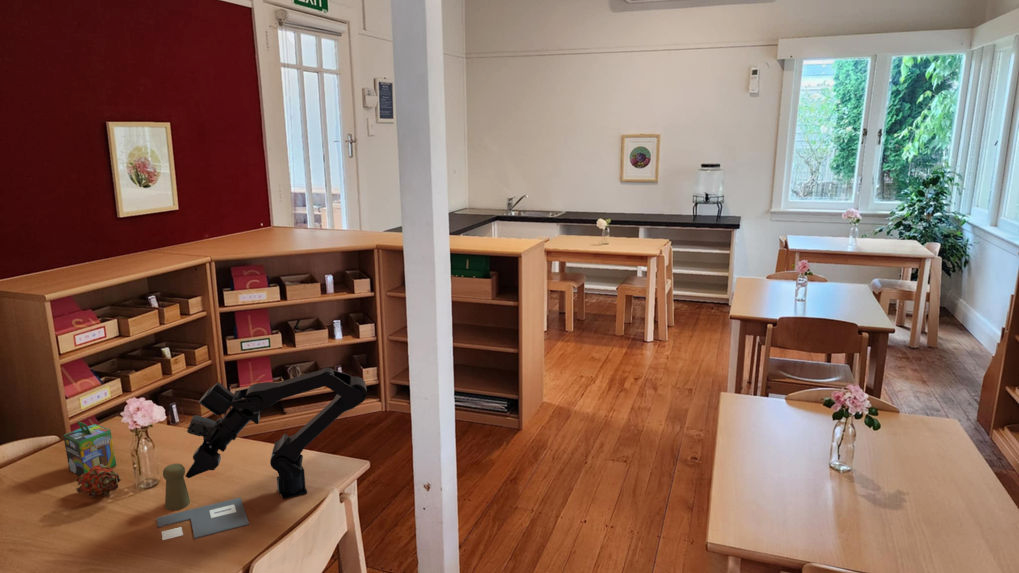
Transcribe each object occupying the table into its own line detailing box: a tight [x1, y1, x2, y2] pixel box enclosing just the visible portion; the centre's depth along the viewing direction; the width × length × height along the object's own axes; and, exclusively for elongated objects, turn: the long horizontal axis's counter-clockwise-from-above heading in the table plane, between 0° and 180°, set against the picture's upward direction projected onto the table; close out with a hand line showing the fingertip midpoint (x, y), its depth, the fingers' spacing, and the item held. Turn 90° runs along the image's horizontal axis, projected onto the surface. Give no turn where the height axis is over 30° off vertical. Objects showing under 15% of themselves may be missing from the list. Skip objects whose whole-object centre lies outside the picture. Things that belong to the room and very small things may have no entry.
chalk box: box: [62, 420, 117, 477], centre depth 193 cm, size 9×9×15 cm
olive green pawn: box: [162, 463, 191, 511], centre depth 175 cm, size 6×6×11 cm
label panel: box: [156, 497, 250, 541], centre depth 169 cm, size 20×14×1 cm
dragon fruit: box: [75, 465, 122, 498], centre depth 181 cm, size 8×8×12 cm
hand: (190, 468), depth 175 cm, fingers open, 9 cm apart
